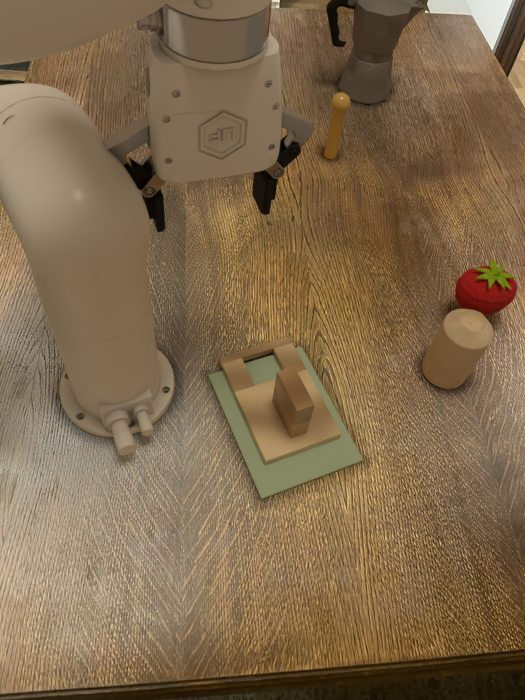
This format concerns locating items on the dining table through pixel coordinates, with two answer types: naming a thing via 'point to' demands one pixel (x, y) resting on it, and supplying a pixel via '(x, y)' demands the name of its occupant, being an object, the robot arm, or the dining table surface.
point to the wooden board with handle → (280, 402)
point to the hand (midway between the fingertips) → (210, 212)
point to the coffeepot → (371, 44)
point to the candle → (457, 348)
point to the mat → (295, 466)
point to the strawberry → (486, 289)
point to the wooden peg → (336, 124)
